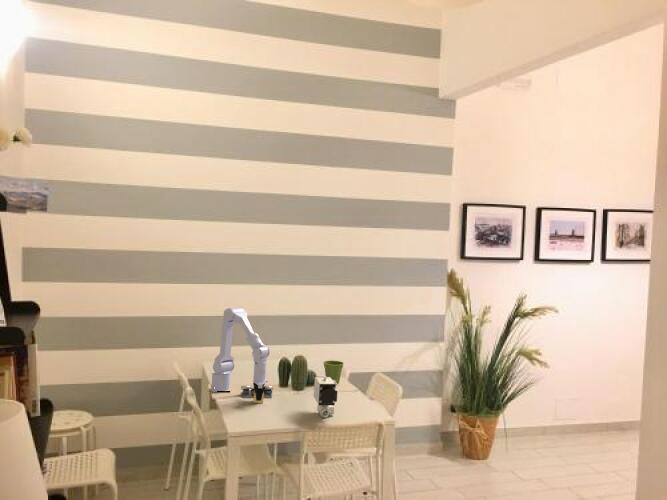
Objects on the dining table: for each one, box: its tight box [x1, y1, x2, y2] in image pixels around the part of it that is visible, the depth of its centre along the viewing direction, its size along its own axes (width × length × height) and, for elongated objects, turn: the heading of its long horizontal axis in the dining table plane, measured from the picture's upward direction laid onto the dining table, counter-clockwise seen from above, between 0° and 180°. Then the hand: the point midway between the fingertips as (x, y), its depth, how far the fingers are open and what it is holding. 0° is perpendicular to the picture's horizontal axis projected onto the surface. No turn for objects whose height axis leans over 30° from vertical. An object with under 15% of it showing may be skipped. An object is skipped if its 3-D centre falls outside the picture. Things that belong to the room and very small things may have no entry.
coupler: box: [253, 391, 264, 404], centre depth 291 cm, size 4×4×6 cm
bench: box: [240, 385, 274, 399], centre depth 303 cm, size 16×10×5 cm, turn 100°
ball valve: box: [313, 375, 338, 418], centre depth 277 cm, size 18×8×18 cm, turn 11°
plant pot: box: [322, 360, 345, 384], centre depth 336 cm, size 12×12×11 cm
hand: (258, 399), depth 291 cm, fingers closed on coupler, 4 cm apart
